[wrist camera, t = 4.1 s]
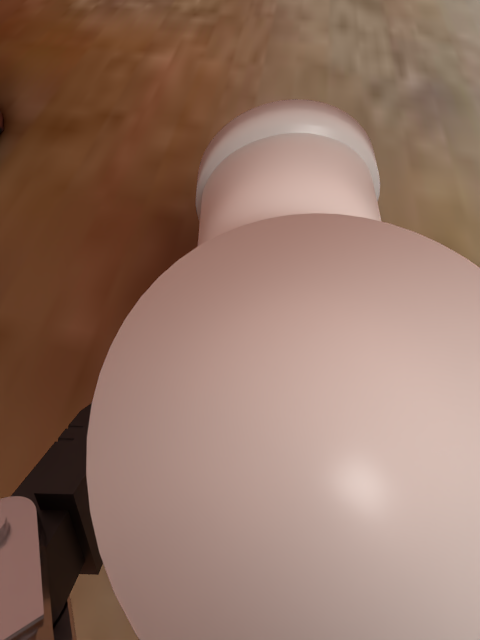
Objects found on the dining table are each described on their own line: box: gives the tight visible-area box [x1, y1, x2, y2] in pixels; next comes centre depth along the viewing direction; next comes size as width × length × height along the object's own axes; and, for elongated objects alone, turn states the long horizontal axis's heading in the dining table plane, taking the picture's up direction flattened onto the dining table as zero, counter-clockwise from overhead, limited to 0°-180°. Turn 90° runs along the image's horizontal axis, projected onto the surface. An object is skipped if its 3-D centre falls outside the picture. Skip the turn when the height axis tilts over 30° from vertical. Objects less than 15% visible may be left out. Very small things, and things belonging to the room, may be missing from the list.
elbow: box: [86, 99, 480, 640], centre depth 9 cm, size 9×5×12 cm, turn 179°
